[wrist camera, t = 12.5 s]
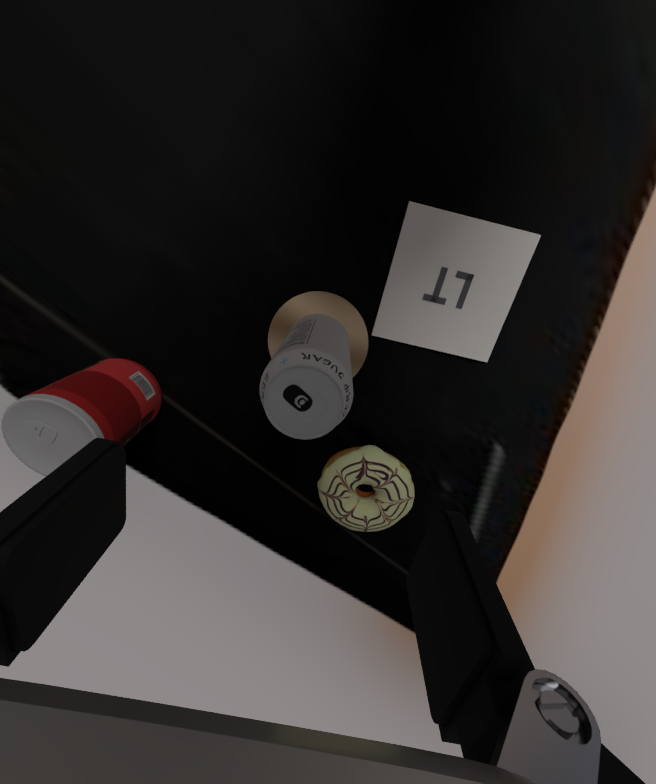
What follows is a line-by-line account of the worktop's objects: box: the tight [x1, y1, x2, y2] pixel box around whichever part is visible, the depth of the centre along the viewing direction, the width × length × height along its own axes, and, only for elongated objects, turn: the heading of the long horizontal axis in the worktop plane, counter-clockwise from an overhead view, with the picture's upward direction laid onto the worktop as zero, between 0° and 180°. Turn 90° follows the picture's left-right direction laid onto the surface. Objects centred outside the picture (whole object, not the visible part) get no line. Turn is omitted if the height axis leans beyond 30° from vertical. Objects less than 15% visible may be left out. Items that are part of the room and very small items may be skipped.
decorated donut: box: [317, 445, 414, 532], centre depth 40 cm, size 10×11×4 cm
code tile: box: [372, 201, 541, 362], centre depth 33 cm, size 12×12×1 cm
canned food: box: [2, 358, 162, 476], centre depth 33 cm, size 8×8×11 cm
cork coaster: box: [268, 291, 368, 378], centre depth 35 cm, size 10×10×1 cm
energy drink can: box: [260, 314, 353, 440], centre depth 28 cm, size 6×6×15 cm
